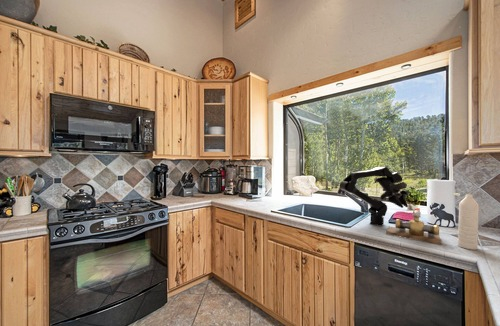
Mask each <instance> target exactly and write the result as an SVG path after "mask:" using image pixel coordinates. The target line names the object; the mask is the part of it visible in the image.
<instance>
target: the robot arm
mask: <svg viewBox="0 0 500 326" xmlns="http://www.w3.org/2000/svg"><path fill="white" fill-rule="evenodd" d="M371 177H375V179H374V181H373V183H374V184H377V183H378V184H379V185H380V186H381V188H382V191H383V193H382V194H380V199H381V200H380V199H377V198H372V197H370V196H368V195H367V194H365V193H364V192H362V191H360V190H359V189H358V188H357V186H356V185H357V182H358V180H359V179H363V178H371ZM407 187H408V184H407V183H406V182H404V181H403V177H402V175H400V173H399V172H398V171H395V172H393V173H392V172H391V171H390V170H389V168H388V167H385V166H376V167H374V168H371V169H368V170H362V171H361V170H360V171H352V172H350V173H349V175H347V176H346V177H345V178H344V179H343V180H342V181H341V182H340V183H339V189H340V190H342V191H344V192H347V193H349V194H351V195H353V196H355V197H357V198H358V199H360V200H361V201H363V202H365V203H366V204H368V205H369V209H367V210H368V213H369V214H370V223H369V225H374V226H380V227H382V226H383V225H384V224H385V223H384V222H385V218H384V217H385V216H386V214H387V211H388V205H387V203H385V202H384V201H388V202H389V203H392V204H393V205H395V206H398V207H399V208H404V207H405V208H408V207H409V205H408V203H407V200H406V197H407V196H409V194H411V192H410V191H409V190H408V189H407ZM403 189H404V190H403ZM406 189H407V190H406ZM387 198H388V199H387Z"/></svg>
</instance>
